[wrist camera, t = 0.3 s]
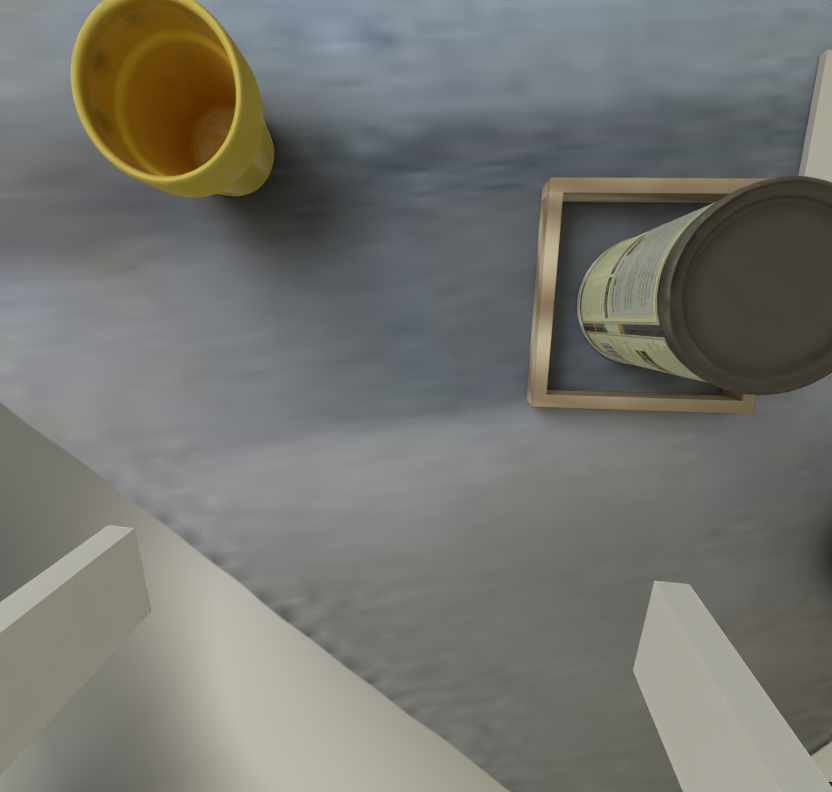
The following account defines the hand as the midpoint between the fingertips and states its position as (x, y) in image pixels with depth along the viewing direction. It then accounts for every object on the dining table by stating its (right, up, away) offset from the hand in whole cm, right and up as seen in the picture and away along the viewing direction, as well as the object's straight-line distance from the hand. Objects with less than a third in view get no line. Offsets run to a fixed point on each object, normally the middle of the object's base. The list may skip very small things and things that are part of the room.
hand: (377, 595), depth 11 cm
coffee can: (+19, +13, +23) cm, 33 cm away
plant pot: (-13, +25, +23) cm, 36 cm away
